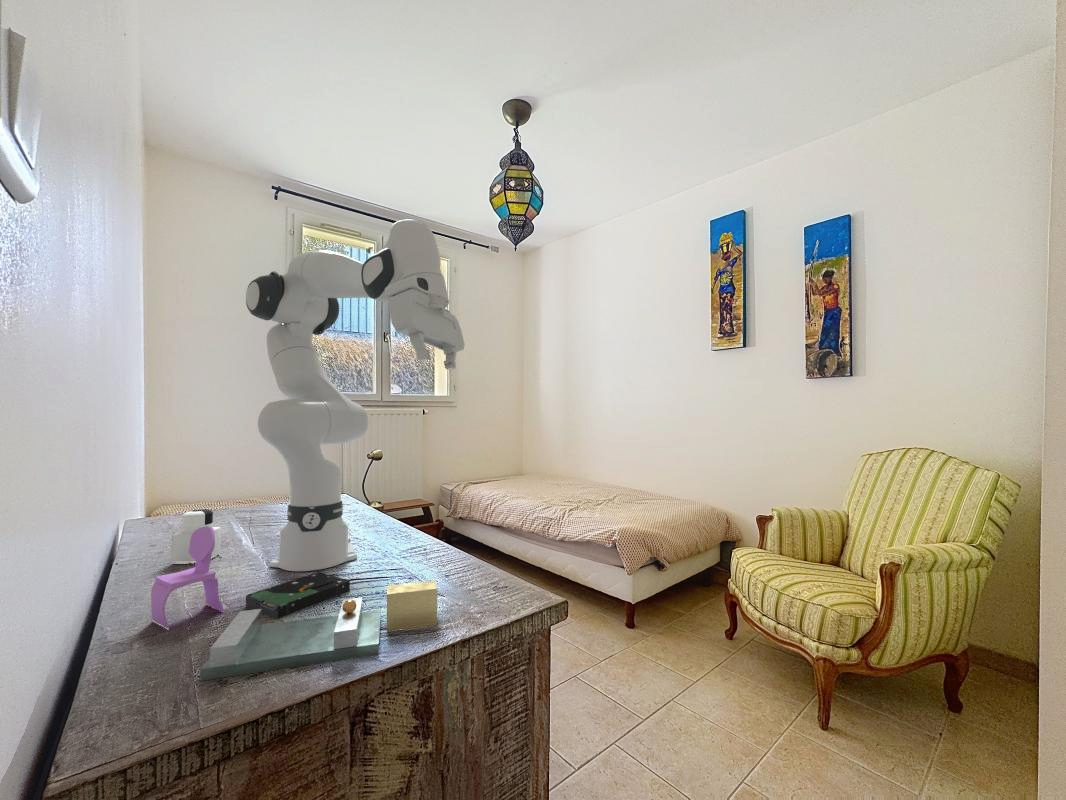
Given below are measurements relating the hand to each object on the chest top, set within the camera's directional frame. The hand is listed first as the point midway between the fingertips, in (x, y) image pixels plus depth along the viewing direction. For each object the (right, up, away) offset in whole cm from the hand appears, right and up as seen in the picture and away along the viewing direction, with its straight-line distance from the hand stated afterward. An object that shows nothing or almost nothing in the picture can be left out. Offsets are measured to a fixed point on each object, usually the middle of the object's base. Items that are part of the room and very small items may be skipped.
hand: (438, 364), depth 84 cm
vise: (-17, -44, -17) cm, 50 cm away
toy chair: (-42, -45, -7) cm, 62 cm away
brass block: (-3, -44, -9) cm, 45 cm away
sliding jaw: (-11, -42, -15) cm, 46 cm away
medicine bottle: (-65, -46, +25) cm, 83 cm away
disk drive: (-27, -45, +1) cm, 53 cm away
